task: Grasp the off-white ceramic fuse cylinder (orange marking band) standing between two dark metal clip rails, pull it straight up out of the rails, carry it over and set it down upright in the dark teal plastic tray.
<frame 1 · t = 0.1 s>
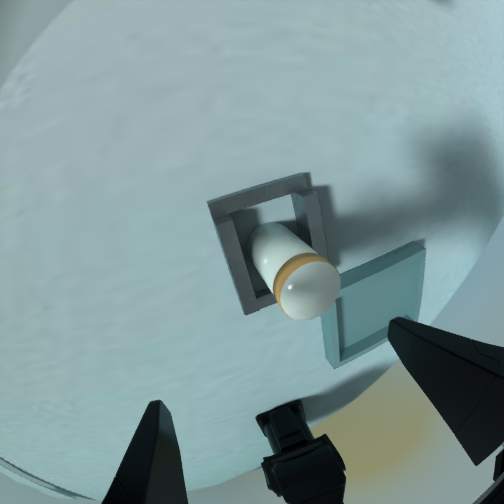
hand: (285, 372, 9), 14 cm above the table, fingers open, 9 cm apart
fuse: (270, 245, 23), resting in clip rails
clip rails: (270, 245, 23), on the table
tray: (371, 302, 30), on the table
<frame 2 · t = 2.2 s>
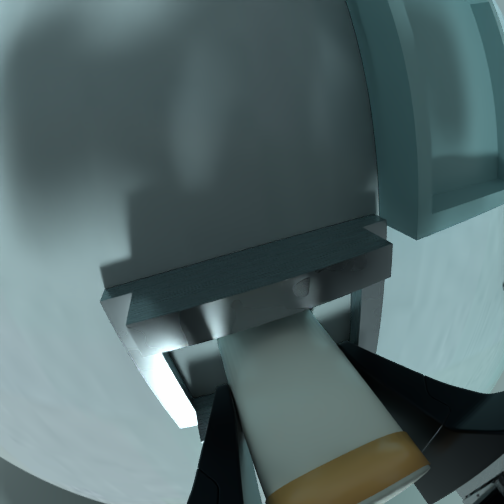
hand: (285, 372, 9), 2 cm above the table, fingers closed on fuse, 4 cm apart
fuse: (266, 334, 11), resting in clip rails, touching gripper
clip rails: (266, 334, 11), on the table
tray: (445, 74, 9), on the table
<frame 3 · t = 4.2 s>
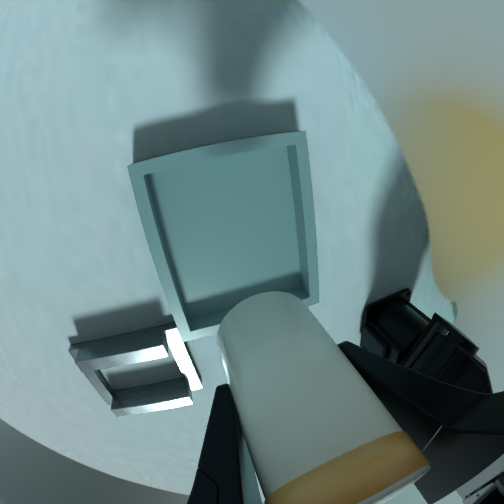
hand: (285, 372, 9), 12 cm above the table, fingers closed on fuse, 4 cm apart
fuse: (265, 333, 11), point 10 cm above the table, touching gripper
clip rails: (136, 366, 22), on the table
tray: (231, 234, 20), on the table
when the fingers open (4 cm above the table, at t = 6.2 s): fuse drops 1 cm, resting on tray.
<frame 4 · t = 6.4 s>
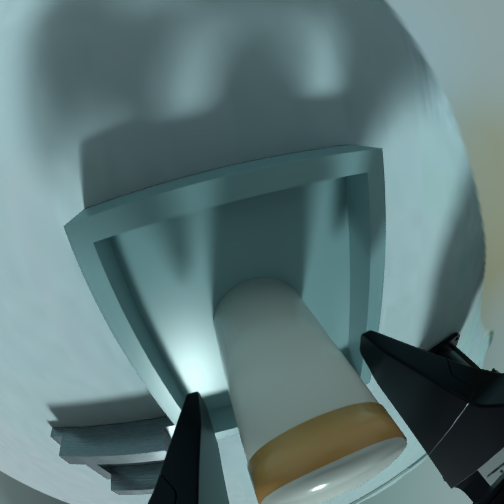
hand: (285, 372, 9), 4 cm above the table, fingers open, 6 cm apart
fuse: (258, 318, 12), point 1 cm above the table, touching tray
clip rails: (135, 450, 15), on the table
tray: (254, 311, 13), on the table
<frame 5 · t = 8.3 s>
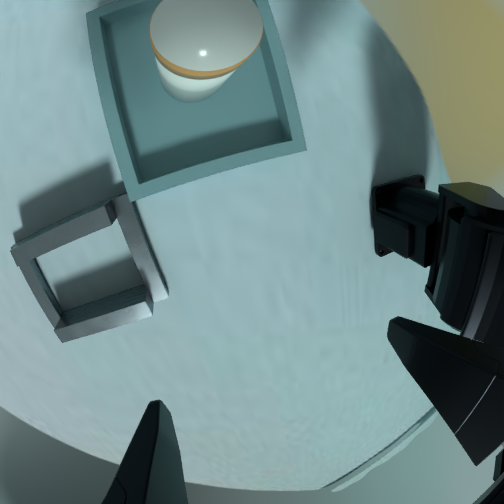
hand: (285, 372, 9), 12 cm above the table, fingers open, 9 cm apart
fuse: (192, 73, 14), point 1 cm above the table, touching tray
clip rails: (85, 268, 17), on the table
tray: (191, 76, 15), on the table
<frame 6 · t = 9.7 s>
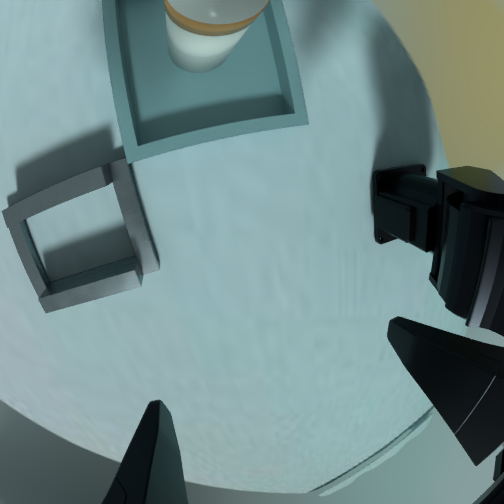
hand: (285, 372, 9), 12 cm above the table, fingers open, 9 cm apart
fuse: (199, 45, 14), point 1 cm above the table, touching tray
clip rails: (76, 235, 17), on the table
tray: (198, 49, 14), on the table
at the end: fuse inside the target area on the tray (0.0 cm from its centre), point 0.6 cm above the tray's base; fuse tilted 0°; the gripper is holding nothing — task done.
